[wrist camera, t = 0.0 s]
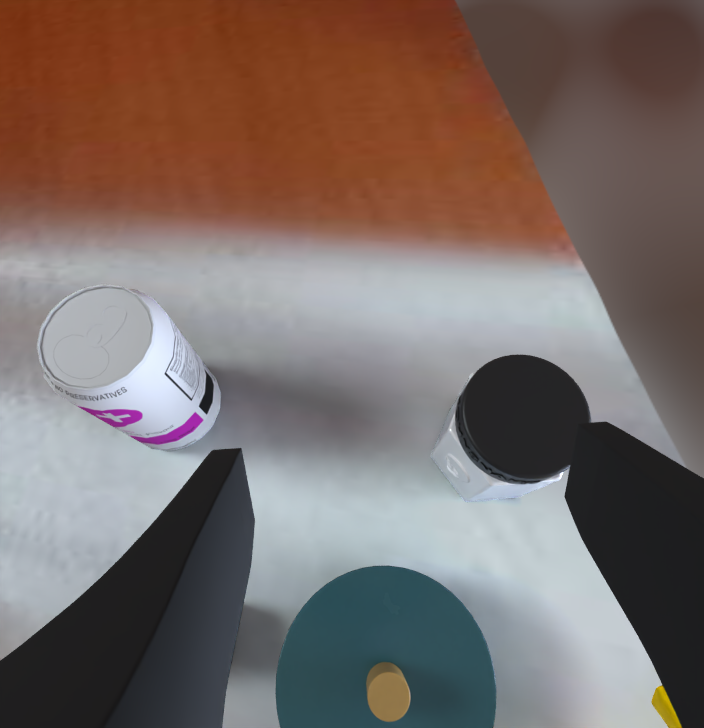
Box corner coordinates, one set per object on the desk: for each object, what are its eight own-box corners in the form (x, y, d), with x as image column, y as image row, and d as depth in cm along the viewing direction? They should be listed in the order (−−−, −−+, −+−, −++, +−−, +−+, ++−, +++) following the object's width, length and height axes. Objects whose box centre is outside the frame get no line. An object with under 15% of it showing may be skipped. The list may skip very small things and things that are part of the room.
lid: (510, 802, 31) (534, 840, 27) (280, 822, 31) (268, 863, 26) (474, 558, 36) (489, 557, 32) (275, 573, 36) (265, 574, 31)
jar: (411, 436, 44) (430, 393, 33) (485, 384, 46) (527, 326, 35) (479, 527, 42) (524, 513, 30) (555, 468, 43) (625, 434, 32)
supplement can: (188, 469, 44) (108, 424, 30) (109, 424, 45) (-3, 360, 31) (240, 388, 46) (190, 310, 32) (164, 347, 48) (84, 256, 34)
